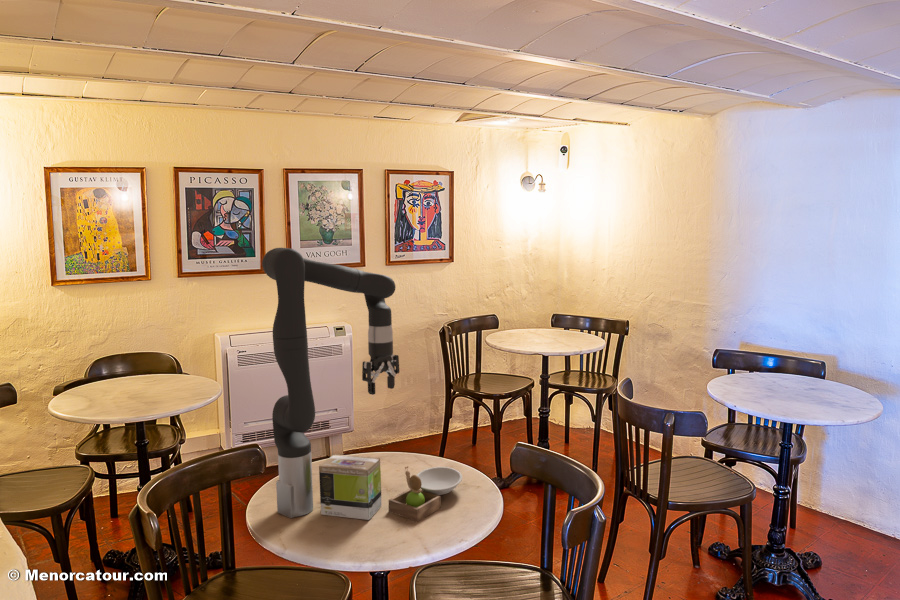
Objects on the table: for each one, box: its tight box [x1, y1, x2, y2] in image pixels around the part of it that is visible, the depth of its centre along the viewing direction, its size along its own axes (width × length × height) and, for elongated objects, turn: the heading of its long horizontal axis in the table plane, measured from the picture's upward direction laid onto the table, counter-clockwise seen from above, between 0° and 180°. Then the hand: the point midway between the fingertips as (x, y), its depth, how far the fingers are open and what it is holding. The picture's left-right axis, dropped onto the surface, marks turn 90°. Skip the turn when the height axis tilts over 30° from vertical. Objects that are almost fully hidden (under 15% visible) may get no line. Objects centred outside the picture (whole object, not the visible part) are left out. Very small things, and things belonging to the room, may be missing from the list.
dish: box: [416, 466, 463, 496], centre depth 192 cm, size 18×14×5 cm
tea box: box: [318, 454, 382, 521], centre depth 181 cm, size 15×10×15 cm, turn 74°
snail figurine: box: [404, 466, 425, 508], centre depth 181 cm, size 5×6×12 cm
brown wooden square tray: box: [388, 488, 442, 522], centre depth 182 cm, size 11×11×4 cm
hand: (381, 391), depth 196 cm, fingers open, 8 cm apart
